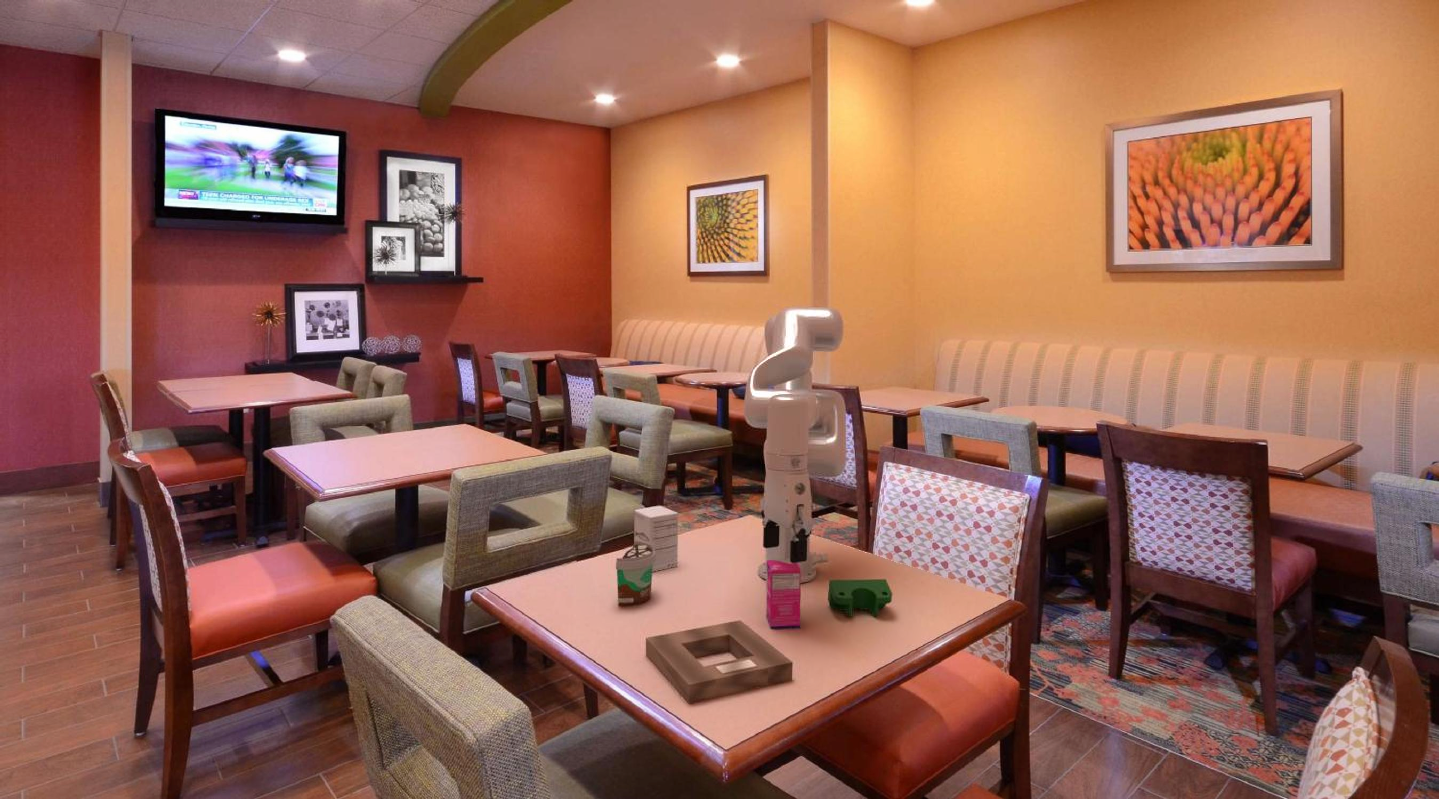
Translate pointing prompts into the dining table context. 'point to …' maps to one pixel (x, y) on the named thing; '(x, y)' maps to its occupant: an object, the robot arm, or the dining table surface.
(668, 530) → the supplement box
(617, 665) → the dining table surface
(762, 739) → the dining table surface
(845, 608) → the clamp
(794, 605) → the supplement box
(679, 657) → the hole board
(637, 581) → the food container
